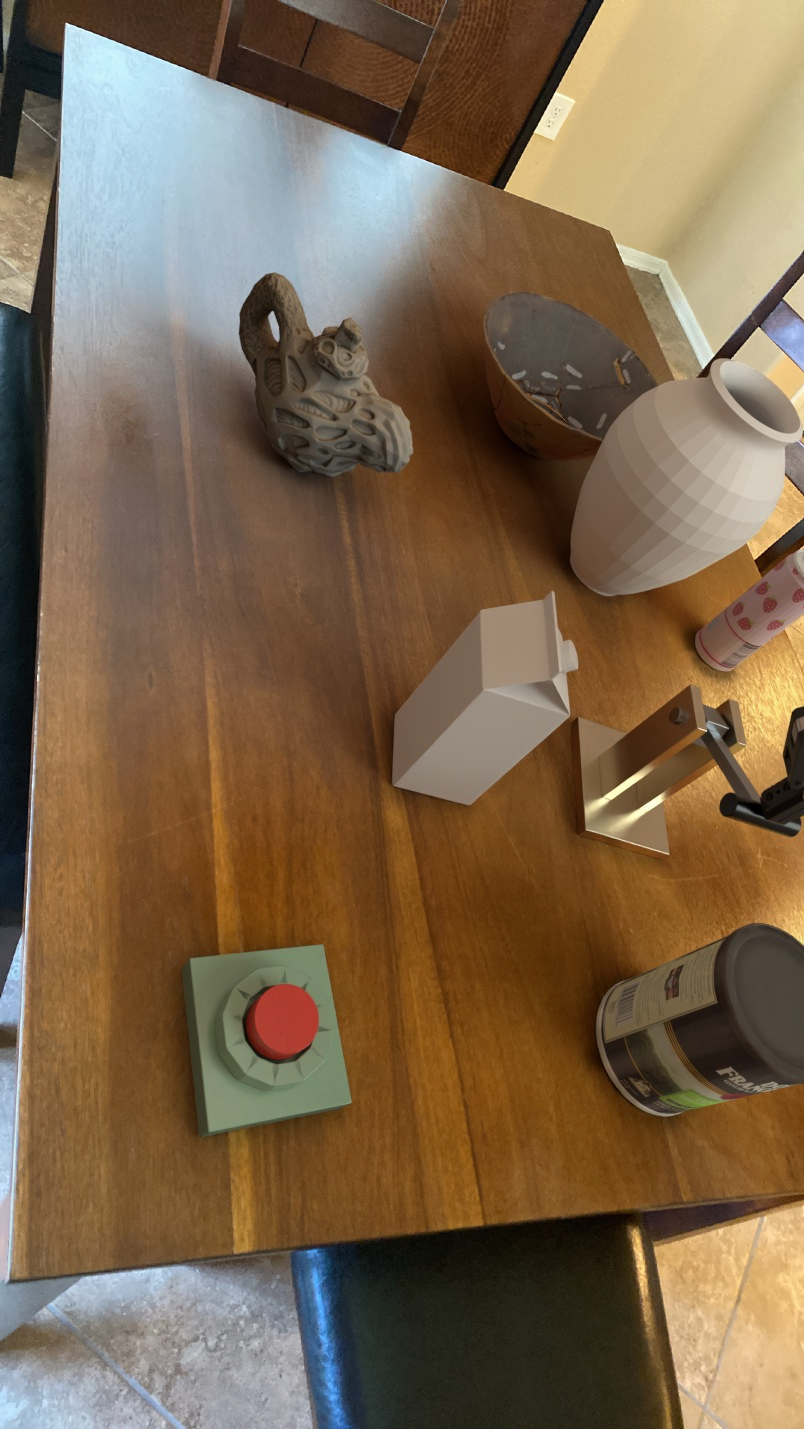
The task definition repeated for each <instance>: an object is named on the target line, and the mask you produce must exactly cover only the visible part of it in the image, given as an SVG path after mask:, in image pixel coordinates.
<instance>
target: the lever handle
mask: <svg viewBox="0 0 804 1429" xmlns="http://www.w3.org/2000/svg"><path fill="white" fill-rule="evenodd" d="M703 709H704V715H705V721H706V727H707V732H706V733H704V734H703V735H702V736H700V737H699V738H697V739H696V740H695V741H693V742H692V743H693V744H696V745H699V746H702V747H705V748H707V749H708V750H709V752H710V753H711V755H712V757H713V758H714V760H715V761H716V763H717V766H718V768H719V769H720V771H721V773H722V774H723V776H724V778H725V780H726V781H727V783H728V784H729V786H730V787H731V789H732V790H733V792H727V793H725V794H724V795H723V796H722V797H721V799H720V802H719V805H718V808H719V810H718V811H719V813H720V814H721V815H722V816H723V817H725V818H727V819H730V820H734V821H737V822H740V823H743V824H745V825H748V826H752V827H756V828H759V829H760V830H761V829H762V830H765V831H767V832H770V833H773V834H777V835H779V836H783V837H786V838H795V837H796V836H797V835H798V834H799V833H800V831H801V829H802V819H801V817H800V818H798V819H795V820H793V821H791V822H789V823H787V824H785V825H781V824H778V823H775V822H772V821H768V820H766V819H764V817H763V812H762V807H761V803H760V797H761V795H760V794H759V793H758V791H757V789H756V788H755V787H754V786H755V785H754V784H753V783H752V782H751V781H750V778H749V777H748V776H747V774H746V772H745V771H744V769H743V768H742V767H741V765H740V764H739V762H738V761H737V759H736V757H735V755H733V754H732V753H731V751H730V750H729V748H728V747H727V745H726V744H725V742H724V741H723V739H722V737H723V735H724V734H725V733H726V732H727V730H728V729H729V728H728V726H727V725H726V723H725V722H724V720H723V719H722V717H721V716H720V714H719V713H718V711H717V710H716V707H712V706H710V705H706V704H704V703H703Z"/></svg>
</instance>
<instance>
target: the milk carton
mask: <svg viewBox="0 0 804 1429" xmlns="http://www.w3.org/2000/svg"><path fill="white" fill-rule="evenodd" d="M557 615H558V614H557V605H556V594H555V590H551V591H550V592H549V593H548V594H547V595H546V596H545V597H544V598H543V599H538V600H533V601H526V602H521V603H513V604H506V605H502V606H496V607H491V608H484V609H480V611H479V612H478V613H477V614H476V615H475V617H474V618H473V619H472V620H471V621H470V622H469V624H468V625H467V626H466V627H465V629H464V630H463V631H462V633H461V634H460V635H459V636H458V637H457V639H455V641H454V642H453V643H452V645H451V646H450V647H449V648H448V649H447V651H446V652H445V653H444V655H443V656H442V657H441V658H440V659H439V660H438V662H436V664H435V665H434V666H433V668H432V669H431V670H430V671H429V672H428V673H427V675H426V676H425V677H424V679H423V680H422V681H421V682H420V683H419V685H418V686H417V687H416V688H415V689H414V690H413V692H412V693H411V694H410V695H409V697H408V698H407V699H406V700H405V701H404V703H403V704H402V705H401V707H399V709H397V711H396V712H395V714H394V719H393V720H394V721H393V722H394V724H393V746H392V747H393V748H392V772H391V773H392V775H391V785H392V786H393V787H396V788H399V789H403V790H408V791H411V792H414V793H418V794H423V795H427V796H430V797H434V798H437V799H442V800H446V801H449V802H454V803H457V804H462V805H466V806H471V805H472V804H473V803H474V802H475V801H477V800H478V799H479V798H480V797H481V796H482V795H483V794H484V793H486V792H487V791H488V790H489V789H490V788H491V787H492V786H494V785H495V783H497V782H498V781H499V780H500V779H502V778H503V776H505V774H507V773H508V772H509V771H510V770H512V769H513V767H515V766H517V765H518V763H519V762H520V761H521V760H523V759H524V758H525V757H526V756H527V755H528V754H530V753H531V752H532V751H533V750H534V749H535V748H536V747H537V746H538V745H540V744H541V743H542V742H543V741H544V740H545V739H547V737H549V736H550V735H551V734H552V733H554V731H555V730H557V729H558V728H559V727H560V726H561V725H562V724H563V723H564V722H565V721H567V720H568V719H569V718H570V717H571V708H570V707H571V706H570V698H569V686H568V678H567V676H568V675H567V673H569V672H574V671H578V669H579V657H578V652H577V650H576V646H575V644H574V642H573V641H572V639H566V640H563V635H562V633H561V630H560V628H559V626H558V616H557Z"/></svg>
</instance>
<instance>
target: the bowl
mask: <svg viewBox="0 0 804 1429" xmlns="http://www.w3.org/2000/svg"><path fill="white" fill-rule="evenodd" d="M481 329H482V341H483V342H482V343H483V349H484V350H483V351H484V360H485V368H486V379H487V385H488V391H489V394H490V400H491V403H492V406H493V407H492V408H493V412H494V416H495V418H496V421H497V423H498V424H499V427H500V428H501V431H502V432H503V433H504V434H505V435H506V437H507V438H508V439H509V440H510V441H511V442H512V443H513V444H515V445H516V446H517V447H518V448H520V449H521V450H523V451H524V452H526V453H528V454H530V455H532V456H534V457H537V458H539V459H541V460H545V461H550V462H561V463H564V462H565V463H566V462H575V461H580V460H584V459H590V458H595V456H596V454H597V452H598V450H599V448H600V446H601V444H602V442H603V440H604V438H605V436H606V434H607V432H608V430H609V428H610V426H611V425H612V424H613V423H614V421H615V420H616V419H617V418H618V416H619V415H620V414H621V413H622V412H623V411H624V410H625V409H626V408H627V407H628V406H629V405H631V404H632V403H633V402H634V401H635V400H636V399H637V398H639V397H640V396H641V395H642V394H644V393H645V392H647V391H649V390H651V389H653V388H655V387H657V386H659V385H658V383H657V381H656V380H655V377H654V376H653V375H652V374H651V372H650V371H649V369H648V368H647V366H646V365H645V363H644V362H643V361H642V359H641V358H640V356H639V355H637V353H636V351H635V350H634V349H632V348H631V346H630V345H629V344H627V343H626V342H625V341H624V340H623V339H622V338H621V337H620V336H618V335H617V334H616V332H614V331H613V330H612V329H611V328H609V327H607V326H606V325H604V324H603V323H602V322H600V320H598V319H596V318H595V317H594V316H592V315H591V314H588V313H586V312H583V311H582V310H581V309H578V308H576V307H575V306H573V305H571V304H569V303H566V302H565V301H561V300H558V299H555V298H553V297H550V296H547V295H543V294H540V293H534V292H529V291H517V292H510V293H509V292H508V293H505V294H501V295H498V296H496V297H495V298H493V299H492V300H491V301H490V302H489V304H488V305H487V307H486V309H485V312H484V315H483V319H482V328H481ZM618 366H619V370H620V374H621V376H622V378H623V380H624V381H623V383H622V380H621V377H620V375H619V371H618V370H617V368H618ZM526 393H529V395H530V396H532V397H534V398H536V399H538V400H540V401H542V402H544V403H547V405H550V406H552V407H551V408H553V409H554V410H555V409H556V411H558V412H559V413H560V414H561V415H562V417H563V418H564V419H565V421H566V422H567V423H566V422H565V421H564V420H563V418H561V417H560V416H559V415H558V414H557V413H556V412H554V411H553V410H552V409H550V408H549V407H547V406H546V405H544V404H542V403H540V402H538V401H536V400H533V399H531V398H529V397H528V396H527V395H526Z"/></svg>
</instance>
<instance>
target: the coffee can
mask: <svg viewBox="0 0 804 1429" xmlns="http://www.w3.org/2000/svg"><path fill="white" fill-rule="evenodd" d="M595 1037H596V1045H597V1048H598V1053H599V1055H600V1060H601V1062H602V1064H603V1067H604V1069H605V1071H606V1073H607V1075H608V1077H609V1079H610V1080H611V1082H612V1083H613V1086H615V1087H616V1089H617V1090H618V1092H620V1094H621V1095H622V1096H623V1097H624V1098H625V1099H626V1100H627V1101H629V1103H631V1104H632V1105H634V1106H635V1107H636V1108H638V1109H639V1110H642V1111H643V1112H645V1113H647V1114H650V1115H654V1116H658V1117H673V1116H676V1115H679V1114H681V1113H683V1112H689V1111H693V1110H697V1109H700V1108H704V1107H709V1106H713V1105H717V1104H721V1103H725V1102H726V1103H727V1102H729V1101H734V1100H737V1099H742V1098H746V1097H751V1096H755V1095H758V1094H762V1093H768V1092H773V1091H775V1090H780V1089H784V1088H788V1087H792V1086H796V1085H804V944H803V943H802V942H801V941H800V940H798V939H797V938H796V937H795V936H793V935H792V934H790V932H787V931H786V930H784V929H782V928H780V927H778V926H775V925H772V924H768V923H764V922H752V923H749V924H746V925H743V926H740V927H739V928H736V929H734V930H733V931H732V932H730V934H728V935H726V936H724V937H721V938H719V939H717V940H714V941H712V942H710V943H707V944H706V945H703V946H701V947H698V948H697V949H694V950H692V951H690V952H687V953H685V954H682V955H680V956H679V957H676V958H674V959H671V960H669V961H667V962H665V963H662V964H660V965H659V966H656V967H653V968H652V969H648V970H647V971H645V972H642V973H640V974H637V975H636V976H633V977H631V978H627V979H625V980H622V981H619V982H617V983H616V984H614V985H613V986H612V987H610V988H609V989H608V990H607V991H606V993H605V994H604V995H603V996H602V999H601V1002H600V1004H599V1007H598V1009H597V1014H596V1020H595Z"/></svg>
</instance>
